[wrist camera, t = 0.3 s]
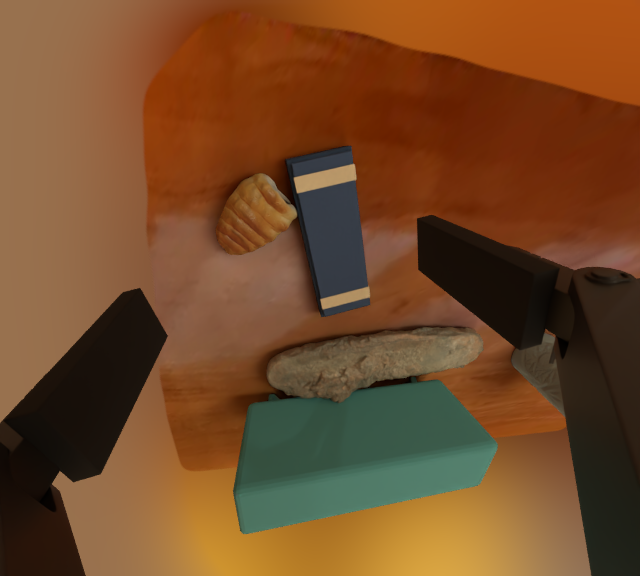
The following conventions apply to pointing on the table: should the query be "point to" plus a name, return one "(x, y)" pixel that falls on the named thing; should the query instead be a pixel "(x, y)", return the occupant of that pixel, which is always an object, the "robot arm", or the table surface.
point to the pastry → (253, 216)
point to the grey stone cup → (540, 370)
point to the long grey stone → (370, 360)
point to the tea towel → (331, 227)
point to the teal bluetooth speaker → (355, 453)
